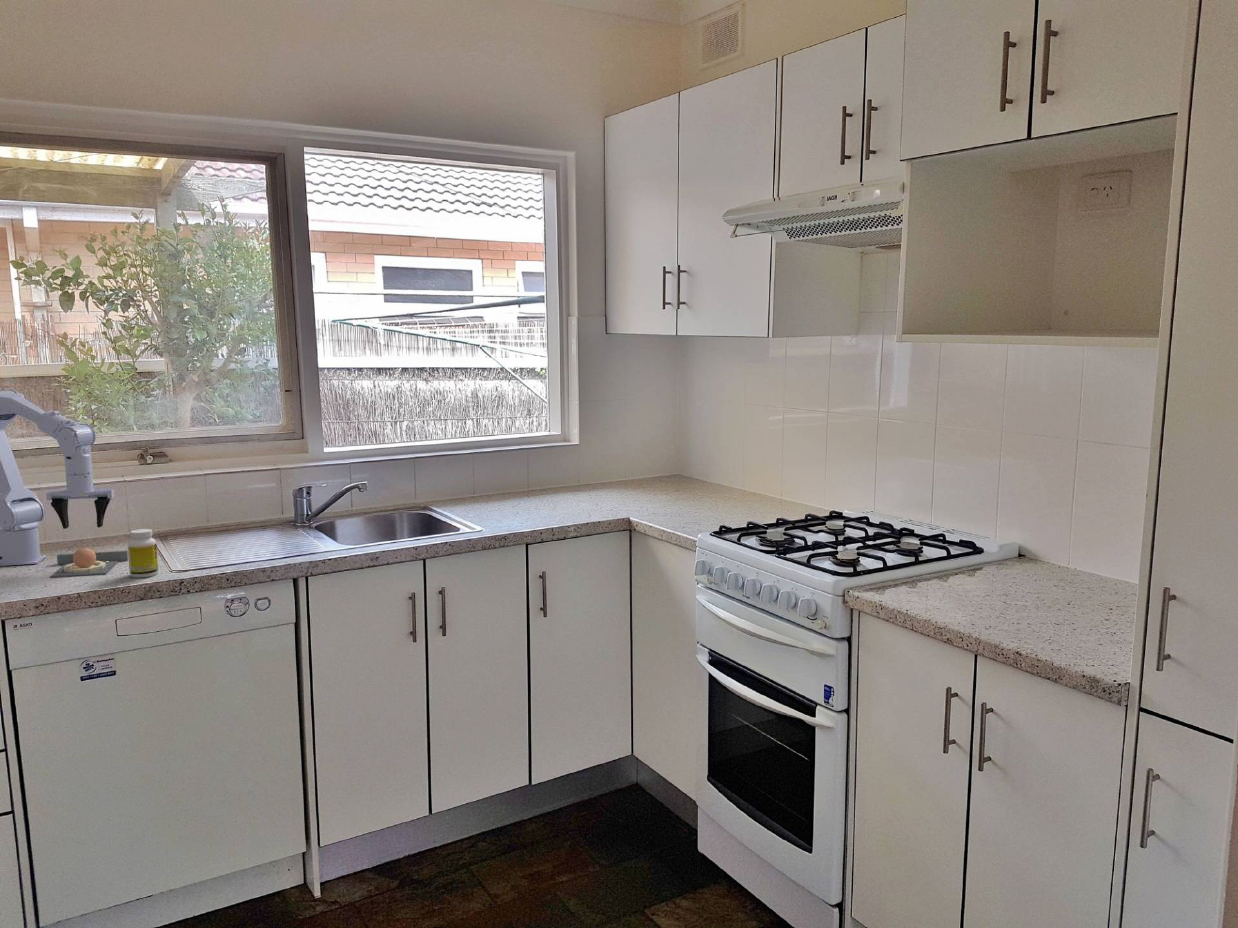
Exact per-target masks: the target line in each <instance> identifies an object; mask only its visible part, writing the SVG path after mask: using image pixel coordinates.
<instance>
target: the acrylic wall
mask: <svg viewBox="0 0 1238 928" xmlns="http://www.w3.org/2000/svg"><path fill="white" fill-rule="evenodd" d="M74 553H75V552H74ZM74 553H73V552H72V553H59V554H57V555H56V562H57V565H59V566H60V565H64V564H72V563H74V562H73V555H74ZM94 553H95V554H96V561H102V562H106V561H118V562H124V561H125V562H126V561H127V562H129V556H128V549H127V550H109V551H94Z"/></svg>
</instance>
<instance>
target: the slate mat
mask: <svg viewBox="0 0 1238 928" xmlns="http://www.w3.org/2000/svg"><path fill="white" fill-rule="evenodd" d="M118 562H119V561H109V562H102V561H95V563H94V564H93V565H92V566H90V567H88V568H80V567H77V566H76V565H75V564H74V563H72V564H62V566H60V567H59V568H58V569H57V570H56V571H55V572H53V573H52V574H51V575H50V578H52V579H53V578H65V577H66V578H68V577H82V576H83V577H84V576H101V575H100V574H103V575H107V574H108V573H109V572H110V571H111V570H112V569H113V568H114V567H115V566H116V565H117V564H118ZM116 563H117V564H116ZM109 570H110V571H109Z"/></svg>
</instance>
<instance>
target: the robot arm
mask: <svg viewBox="0 0 1238 928" xmlns="http://www.w3.org/2000/svg"><path fill="white" fill-rule="evenodd" d="M17 416H20V417H22V418H24V419H26V420H28V421H30V422H32V423H35V424H36V426H37V429H38V430H39V431H40V432H42V433H43V434H45V435H47V436H49V437H51V438H53V439H54V440H56V442H57V444H58V446H59V447H60V450H61V454H62V456H63V457H64V466H65V467H64V468H65V469H64V470H65V481H66V482H65V483H66V484H65V485H66V489H65V490H50V491H47V492H46V493H45V494H46V500H47V501H51V502H50V506H51V507H52V508H53V510H54V511H55V513H56V514H57V516H58V518H59V521H60V523H61V525H62V529H63V530H64V529H68V528H69V527H70V522H69V514H68V512H69V508H68V507H69V500H80V499H86V500H87V499H95V500H94V502H93V503H94V507H95V512H96V528H102V527H103V526H104V525H103V524H104V518H105V514H106V511H107V508H108V506H109V504H110V502H111V500H112V499H113V498H114V497H115V490H114V489H105V488H104V489H103V488H102V489H100V488H99V489H98V488H97V489H96V488H94V477H93V475H94V474H93V466H92V465H93V464H92V463H93V462H92V447H91V446H93V445H94V444H95V441H96V436H97V435H96V432H95V430H94V428H93V427H92V426H90V424H88V423H80V424H79V423H77V422H75V420H73V419H69V418H67V417H66V416H63V415H61V412H60V411H59V410H49V411H45V410H44V409H42V408H40V407H38V406H37V405H35V404H34V403H33V402H31V401H29V400H27V399H26V398H25V395H24V394H23V393H21V392H18V391H17V390H15V389H8V390H0V567H1V566H17V565H18V566H19V565H20V566H21V565H33V564H34V565H37V564H39V563H40V562H41V561H42V560H44V559H45V558H47V555H46V554H41V545H40V544H41V543H40V536H39V535H40V534H39V527H40V526H41V522H42V521H43V520H44V519H45V516H46V515H45V514H46V511H45V507H44V505H43V503H42V502H41V501H40V500H39V497H38V495H37V493H35V492H34V491H33V490H31V489H29V488H27V487H25V484H24V483H25V482H24V481H23V479H22V476H21V473H20V470H19V467H18V464H17V462H16V459H15V455H14V454H13V449H12V447H11V444H10V442H9V439H8V436H7V433H6V431H5V430H6V428H7V426H8V425H10V424H11V423H12V422H13V420H14V419H15V418H16V417H17Z"/></svg>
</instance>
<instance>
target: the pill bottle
mask: <svg viewBox="0 0 1238 928" xmlns="http://www.w3.org/2000/svg"><path fill="white" fill-rule="evenodd" d="M152 536H153V530H152V529H149V528H139V529H133V530H131V531H130V538H131V540H129V541H128V543H127V550H128V565H129V566H128V568H129V576H130V577H132V578H136V579H139V578H141V579H142V578H150V577H154V576H156V575H157V574H158V573H159V563H158V561H159V560H158V549H157V547H158V546H157V541H156V539H155V538H153V537H152Z"/></svg>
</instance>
